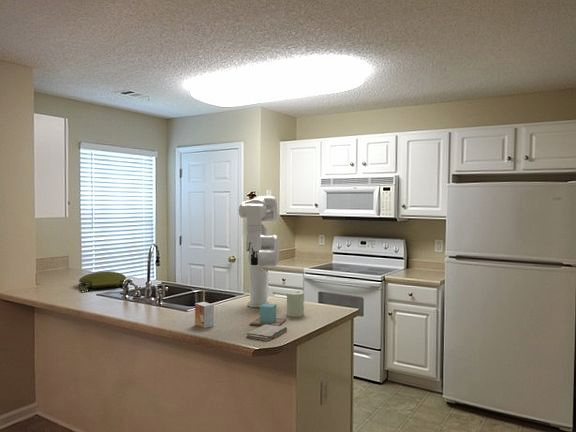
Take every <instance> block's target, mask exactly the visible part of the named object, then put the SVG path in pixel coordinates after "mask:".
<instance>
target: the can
mask: <svg viewBox="0 0 576 432" xmlns="http://www.w3.org/2000/svg"><path fill="white" fill-rule="evenodd" d="M304 293H305V292H304V291H302V290H300V291H299V290H291V291H287V292H286V316H287V317H293V318H294V317H295V318H296V317H297V318H298V317H303V316H305V304H304V303H305V294H304Z"/></svg>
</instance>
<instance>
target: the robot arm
mask: <svg viewBox="0 0 576 432" xmlns="http://www.w3.org/2000/svg"><path fill="white" fill-rule="evenodd" d="M238 215H239V217H240V218H241V219H246V237H245V251H246V252H248V254H247V255H248V256H247V259H248V267H249V299H250V301H249V302H247V307H249V308H260V306H261V305H263V304H264V303H266V304H271V303H270V302H269V301H267V300H268V295H267V293H268V290H267V289H268V288H267V285H268V282H267V280H268V279H267V272H266V270H265V269H264V267H271V268H272V267H277V266H278V265H279V262H280V240H279V237H278V236H277V234H267V233H268V229H267V228H266V227H265V225H264V224H263V223H262V222H274V221H276V220H277V219H278V215H279V214H278V203H277V199H276V198H275V196H272V195H257V196H254V197H253V198H252V199H250V200H245V201H242V202H241V203H240V204H239V207H238Z"/></svg>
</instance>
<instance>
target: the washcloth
mask: <svg viewBox="0 0 576 432" xmlns="http://www.w3.org/2000/svg"><path fill="white" fill-rule="evenodd" d="M287 331H288V327H287V326H282V325H280V326H273V325H263V326H257V327H256V328H254V329H252V330H250V331H248V332H246V333H245V334H246V339H251V340H256V339H259V340H258V341H262V340H264V341H263V342H269V341H271V340H273V339H272V338H274V339H276V337H275V336H277V337H279V336H281V335H282V334H284V333H286V332H287ZM281 333H282V334H281ZM280 334H281V335H280ZM278 335H279V336H278ZM270 339H271V340H270ZM268 340H269V341H268Z"/></svg>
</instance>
